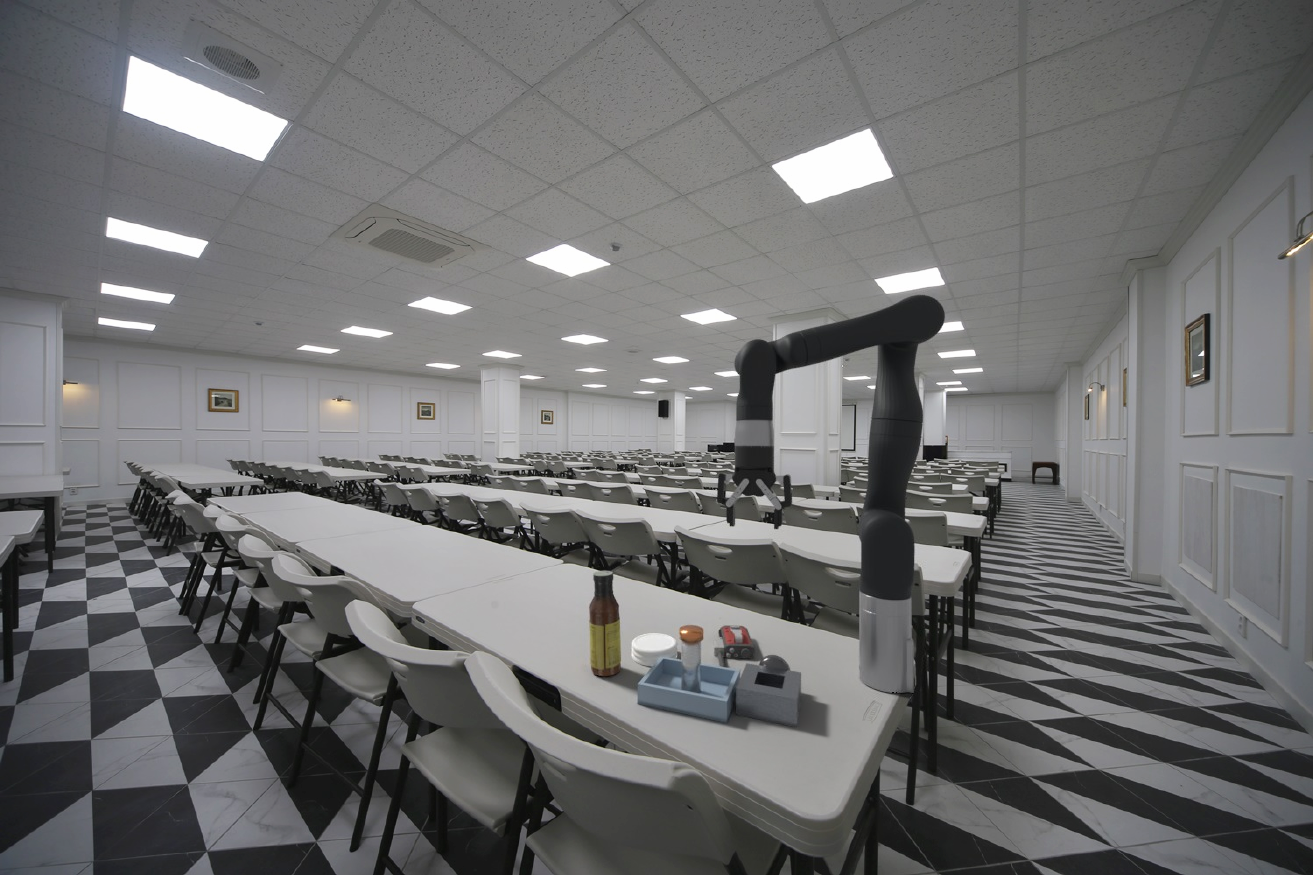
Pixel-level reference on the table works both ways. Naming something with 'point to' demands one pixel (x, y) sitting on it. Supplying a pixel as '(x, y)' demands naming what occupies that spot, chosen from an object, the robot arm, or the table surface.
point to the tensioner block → (769, 692)
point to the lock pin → (691, 657)
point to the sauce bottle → (604, 627)
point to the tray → (666, 691)
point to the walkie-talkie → (733, 643)
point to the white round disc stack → (653, 648)
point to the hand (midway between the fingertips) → (753, 527)
